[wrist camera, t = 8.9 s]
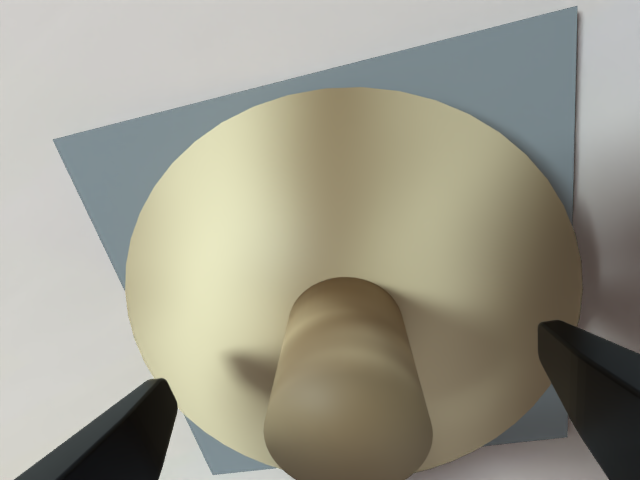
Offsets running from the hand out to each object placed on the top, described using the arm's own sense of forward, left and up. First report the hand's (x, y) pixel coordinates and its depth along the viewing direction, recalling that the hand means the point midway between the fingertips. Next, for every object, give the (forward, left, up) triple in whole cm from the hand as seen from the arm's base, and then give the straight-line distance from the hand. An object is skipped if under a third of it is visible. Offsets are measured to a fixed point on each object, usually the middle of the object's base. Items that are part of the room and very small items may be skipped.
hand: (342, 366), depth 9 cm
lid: (0, 0, -3) cm, 3 cm away
